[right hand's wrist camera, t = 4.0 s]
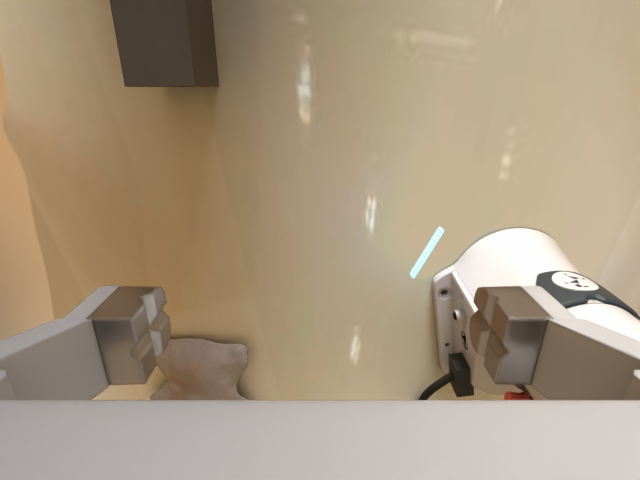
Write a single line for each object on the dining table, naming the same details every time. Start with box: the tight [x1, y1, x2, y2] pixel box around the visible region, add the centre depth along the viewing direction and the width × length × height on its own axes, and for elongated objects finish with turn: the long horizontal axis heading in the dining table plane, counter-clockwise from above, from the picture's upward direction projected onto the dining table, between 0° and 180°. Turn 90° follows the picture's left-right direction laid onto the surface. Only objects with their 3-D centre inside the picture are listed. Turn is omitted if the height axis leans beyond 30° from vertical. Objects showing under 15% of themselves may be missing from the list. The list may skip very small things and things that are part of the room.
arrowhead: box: [150, 338, 248, 400], centre depth 54 cm, size 14×5×30 cm
